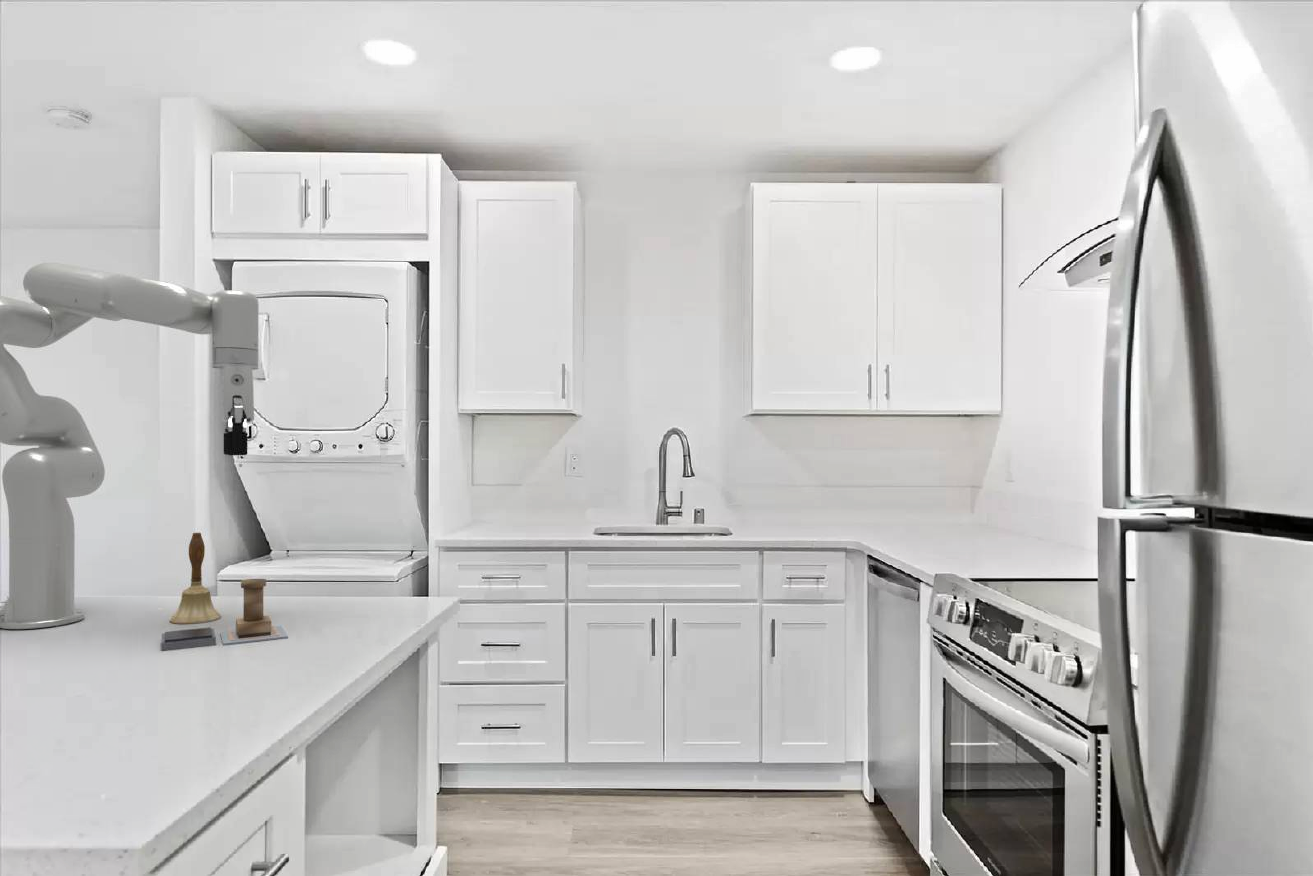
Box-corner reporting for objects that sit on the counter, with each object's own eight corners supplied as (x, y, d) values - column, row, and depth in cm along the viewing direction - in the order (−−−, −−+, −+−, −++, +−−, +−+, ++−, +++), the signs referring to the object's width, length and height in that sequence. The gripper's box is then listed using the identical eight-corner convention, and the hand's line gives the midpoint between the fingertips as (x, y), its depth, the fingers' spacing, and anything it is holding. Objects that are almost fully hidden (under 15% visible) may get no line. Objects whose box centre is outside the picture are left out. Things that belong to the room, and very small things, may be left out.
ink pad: (161, 650, 129) (161, 641, 129) (161, 640, 135) (161, 631, 135) (215, 644, 132) (215, 635, 132) (213, 635, 139) (213, 626, 139)
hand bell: (230, 615, 155) (230, 530, 156) (202, 625, 147) (202, 535, 147) (189, 614, 156) (189, 530, 156) (158, 624, 148) (159, 535, 148)
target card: (223, 645, 132) (223, 642, 132) (220, 633, 140) (220, 631, 140) (287, 638, 137) (287, 635, 137) (280, 627, 145) (280, 624, 145)
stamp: (237, 638, 135) (238, 583, 135) (235, 632, 140) (235, 579, 140) (271, 635, 138) (271, 581, 138) (268, 629, 142) (268, 577, 142)
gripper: (262, 357, 144) (262, 455, 143) (254, 365, 158) (254, 454, 158) (214, 354, 140) (213, 455, 140) (209, 363, 155) (209, 454, 155)
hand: (235, 454), depth 149 cm, fingers open, 9 cm apart
